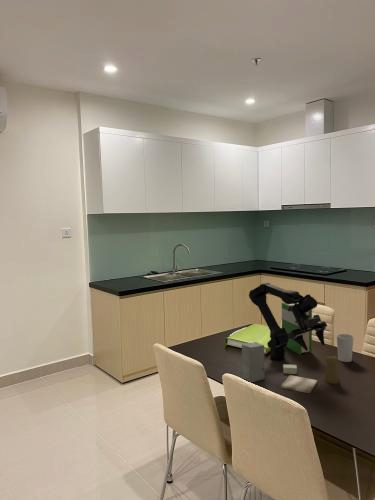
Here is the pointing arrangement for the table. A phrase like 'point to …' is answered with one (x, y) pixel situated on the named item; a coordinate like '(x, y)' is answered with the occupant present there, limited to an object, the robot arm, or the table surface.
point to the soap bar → (289, 369)
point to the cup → (345, 347)
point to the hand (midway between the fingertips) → (315, 347)
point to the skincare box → (253, 361)
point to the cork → (331, 370)
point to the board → (299, 384)
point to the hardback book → (290, 325)
